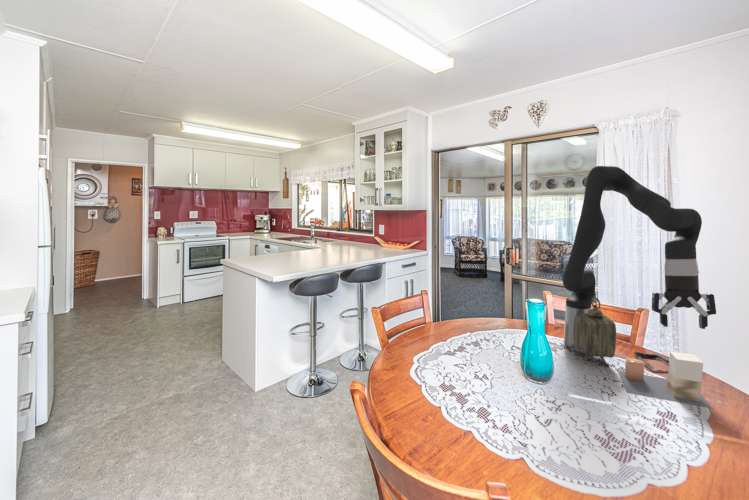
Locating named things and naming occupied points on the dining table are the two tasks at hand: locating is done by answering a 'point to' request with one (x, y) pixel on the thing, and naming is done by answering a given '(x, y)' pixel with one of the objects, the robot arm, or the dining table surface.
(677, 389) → the tower base
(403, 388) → the dining table surface
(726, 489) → the dining table surface
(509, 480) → the dining table surface
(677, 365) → the tower top
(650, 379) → the slate mat
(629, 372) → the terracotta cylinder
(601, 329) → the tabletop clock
